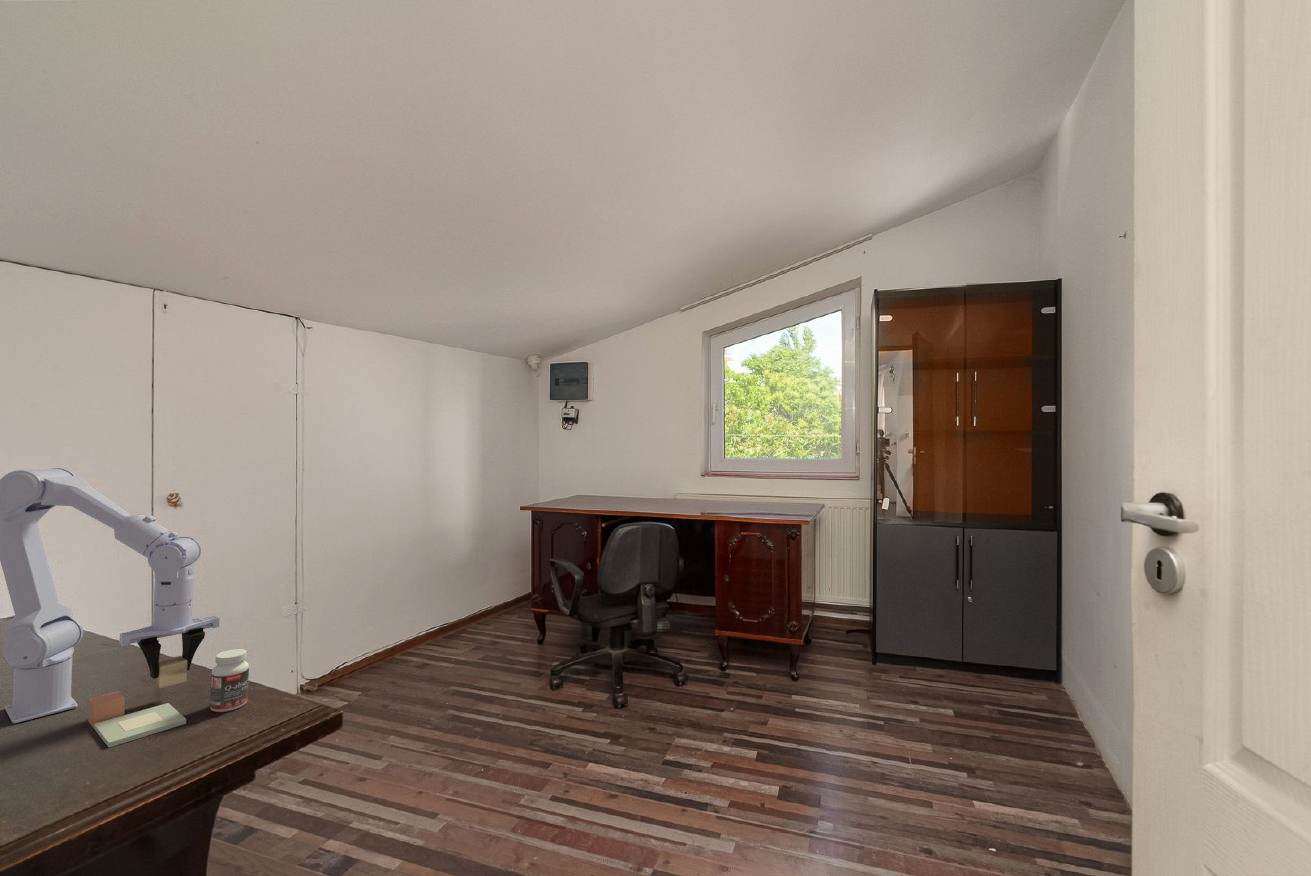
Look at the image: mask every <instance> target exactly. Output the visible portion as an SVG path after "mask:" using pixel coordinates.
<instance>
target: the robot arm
mask: <svg viewBox="0 0 1311 876" xmlns="http://www.w3.org/2000/svg"><path fill="white" fill-rule="evenodd" d="M56 506H57V507H59V506H62V507H72V508H73V509H76V510H77V511H80V512H81V513H83V514H85V515H86V516H88V517H91V518H92V519H94V520H96V521H98V522H99V523H101V524H104V525H106V526H107V527H110V528H111V529H113V531H114V534H113V535H114V539H116V540H117V541H119V542H120V543H122V544H124V545H125V546H126V547H129V548H130V549H132V550H133V551H135V552H136V553H138V554H139V555H142V556H144V557H145V558H146V559H147V564H148V566H149V567H150V568H151V570H153V573H154V587H153V588H154V591H153V607H152V611H153V612H152V625H149V626H146V627H141V628H138V629H135V630H130V631H126V632H122V633H119V645H120V647H126V646H130V645H131V644H137V646H138V647H139V648H140V650H141V652H142V654H143V656H144V657H145V660H146V663H147V666H148V669H149V675H150V676H149V677H151V679H152V680H153V679H155V678H158V676H159V660H160V656H161V655H160V654H161V649H162V644H161V643H159V642H160V640H159V639H161V638H166V637H171V636H175V635H180V634H181V639H182V640H181V641H182V642H181V643H182V644H181V645H182V652H181V656H182V657H183V658H185V659H186V660H187V672H188V671H190V669H191V664H192V662H193V659H194V656H195V654H196V652H197V650H198V648H199V646H200V645H201V643H202V641H203V640H204V639H205V636H206V632H205V631H204V630H206V629H210V628H212V629H216V628H220V620H221V618H220V617H219V616H217V615H212V616H211V615H210V616H204V617H195V618H193V601H194V599H193V598H194V577H195V563H196V562H197V561H198V560H199V558H200V557H201V554H202V548H201V546H200V544H199V542H198V541H196V540H195V538H194V537H191V536H185V535H184V536H179V533H178V532H176V531H174V530H173V531H171V530H169V529H168V528H166V527H164V526H163V525H161V524H160V523H158V521H157V517H155V516H153V515H145V514H139V513H138V514H134V515H132V514H130V513H129V512H128V511H126V510H125V509H123V508H122V507H121V506H119V505H118V504H116V503H115V502H113V501H112V500H111V499H110V498H108V497H107V496H105V495H103V494H102V493H101V492H100V491H98V490H97V489H95V488H94V487H92V486H91V485H90V484H89V483H88V481H87V480H86V478H84V477H82V476H80V475H77V474H75V473H74V472H73V471H72V470H69V469H67V468H62V467H55V468H49V469H35V470H34V469H32V470H25V469H20V470H17V469H16V470H13V471H10V472H8V473H6V474H4V475H3V476H2V477H1V478H0V564H1V569H2V572H3V576H4V580H5V583H6V586H7V590H8V594H9V598H10V602H11V604H12V605H11V606H12V609H13V613H14V616H13V617H12V618H11V620H10V621H9V622H8V624H7V625H6V627H5V629H4V630H3V634H4V638H5V641H4V645H3V646H2V647H3V648H2V655H3V658H4V660H5V662H7V664H9V665H10V666H11V669H12V670H14V671H13V689H12V690H13V693H12V696H13V697H12V703H11V704H6V705H5V706H4V710H5V712H6V713H7V715H8V718H9V719H10V721H11V722H12V724H19V723H21V722H25V721H29V720H33V719H37V718H41V717H45V716H49V715H52V714H53V715H54V714H57V713H61V712H64V711H67V710H71V709H75V708H77V707H78V706H79V705H78V703H77V702H76V700H75V699H74V698H73V697H72V679H73V678H72V675H73V671H72V670H73V654H74V653H75V647H76V646H77V645H78V644H79V643H80V642H81V641H82V639H83V636H84V628H83V625H82V624H81V622H79V621H78V620H77V618H75V616H74V614H73V611H72V609H71V608H70V607H67V606H66V605H64V604H62V603H60V602H59V598H58V595H57V592H56V587H55V584H54V580H53V577H52V573H51V569H50V566H49V561H48V559H47V558H48V557H47V555H46V551H45V547H44V544H43V540H42V537H41V533H40V528H39V526H38V523H39V521H40V520H41V519H42V518H43V517H44V516H45V515H46V514H47V513H48V512H49V511H50V510H51V509H52V508H55V507H56ZM156 521H157V522H156Z"/></svg>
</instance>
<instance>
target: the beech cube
mask: <svg viewBox="0 0 1311 876" xmlns="http://www.w3.org/2000/svg"><path fill="white" fill-rule="evenodd" d="M187 673H188V671H187V660H186V659H185V658H183V657H182V654H181V655H176V656H172V657H167V658H164V659H159V676H158V678H155V679H153V678H152V683H153V684H154V685H155V686H156V687H158V688H159V689H162V688H166V687H170V686H174V685H178V684H182V683H186V682H187V678H188V674H187Z"/></svg>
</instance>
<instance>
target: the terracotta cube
mask: <svg viewBox="0 0 1311 876" xmlns="http://www.w3.org/2000/svg"><path fill="white" fill-rule="evenodd" d="M87 702H88V703H87V722H88V724H89V725H90V726H91V727H92V729H94V724H95V723H99V722H102V721H106V720H109V719H113V718H116V717H120V716H123V715H125V706H126V697H125V695H124V694H123V693H122V692H121V691H120V690H117V691H113V692H109V693H105V694H101V695H97V696H94V697H90V698H88V699H87Z"/></svg>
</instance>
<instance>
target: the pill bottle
mask: <svg viewBox="0 0 1311 876" xmlns="http://www.w3.org/2000/svg"><path fill="white" fill-rule="evenodd" d="M247 654H248V653H247V650H246V649H243V648H238V649H236V648H235V649H229V650H224V651H221V652H219V653H217V654H216V655H215V664H216V665H215V666H214V667H213V668H212V669H211V673H210V674H211V677H210V697H209V709H210V710H211V711H212V712H215V713H224V712H231V711H235V710H237V709H240V708H242V707H243V706H245V705H246V704H247V703H248V699H249V698H248V697H249V674H250V673H249V671H250V665H249V663H248V661H245V660H246V659H247V657H248V655H247ZM247 681H248V682H247Z"/></svg>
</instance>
